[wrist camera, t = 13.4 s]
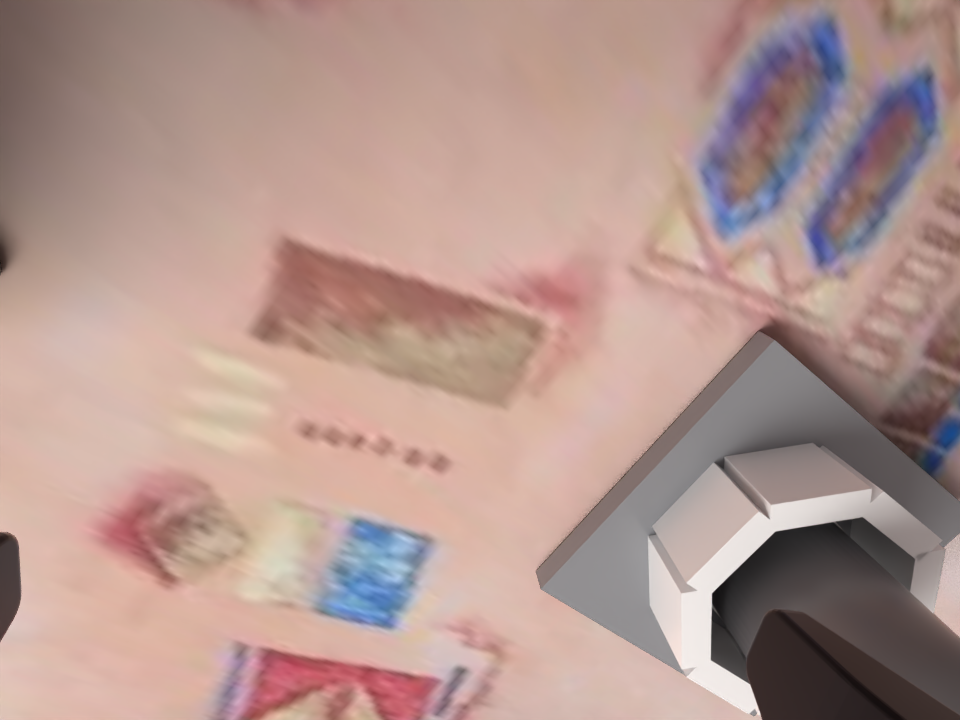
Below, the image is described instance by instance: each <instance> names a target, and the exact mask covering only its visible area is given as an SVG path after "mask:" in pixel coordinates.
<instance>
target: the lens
mask: <svg viewBox="0 0 960 720" xmlns="http://www.w3.org/2000/svg"><path fill="white" fill-rule="evenodd" d="M712 607H713V609H714V611H715V612H716V613H717V614H718V615H719V617H721V619H722V621H723V622H724V624H725V625H726V627H727V628H728V630H729V632H730V633H731V635H732V636H733V638H734V639H735V641H736V643H737V644H738V646H739V647H740V649H741V650H742V652H743V654H744V655H745V657H747V654H748V651H749V649H750V647H751V644H752V642H753V640H754V637H755V635H756V633H757V630H758V628H759V626H760V623H761V621H762V619H763V617H764V615H765V614H766V613H767V612H768V611H769V610H771V609H775V608H777V609H788V610H797V611H801V612H804V613H805V614H807V615H809V616H810V617H812V618H813V619H815V620H816V621H818V622H819V623H821V624H822V625H824V626H825V627H827V628H828V629H830V630H831V631H833V632H835V633H836V634H838V635H839V636H841V637H842V638H844V639H845V640H847V641H848V642H850V643H851V644H853V645H854V646H856V647H857V648H859V649H860V650H862V651H863V652H865V653H867V654H868V655H870V656H871V657H873V658H874V659H876V660H877V661H879V662H880V663H882V664H883V665H885V666H886V667H888V668H889V669H891V670H892V671H894V672H895V673H897V674H899V675H900V676H902V677H903V678H905V679H906V680H908V681H909V682H911V683H912V684H914V685H915V686H917V687H918V688H920V689H921V690H923V691H924V692H926V693H927V694H929V695H931V696H932V697H934V698H935V699H937V700H938V701H940V702H941V703H943V704H944V705H946V706H947V707H949V708H950V709H952V710H953V711H955V712H956V713H958V714H959V715H960V637H959V636H958V635H957V634H955V633H954V632H953V631H952V630H951V629H950V628H949V627H948V626H947V625H946V624H944V623H943V622H942V621H941V620H940V619H939V618H938V617H937V616H936V615H935V614H934V613H932V612H931V611H930V610H929V609H928V608H927V607H926V606H925V605H924V604H923V603H922V602H920V601H919V600H918V599H917V598H916V597H915V596H914V595H913V594H912V593H911V592H910V591H908V590H907V589H906V588H905V587H904V586H903V585H902V584H901V583H900V582H899V581H898V580H896V579H895V578H894V577H893V576H892V575H891V574H890V573H889V572H888V571H887V570H886V569H884V568H883V567H882V566H881V565H880V564H879V563H878V562H877V561H876V560H875V559H873V558H872V557H871V556H870V555H869V554H868V553H867V552H866V551H865V550H864V549H863V548H861V547H860V546H859V545H858V544H857V543H856V542H855V541H854V540H853V539H852V538H851V537H849V536H848V535H847V534H846V533H845V532H844V531H843V530H842V528H841V527H840V526H839V525H838V524H837V523H836V522H830V523H824V524H818V525H812V526H805V527H799V528H793V529H787V530H781V531H775V532H774V533H773V534H772V535H771V536H770V537H769V538H768V539H767V540H766V541H765V542H764V543H763V544H762V545H761V546H760V547H759V548H758V549H757V550H756V551H755V552H754V553H753V554H752V555H751V556H750V557H749V558H748V559H747V560H746V561H745V562H744V563H742V564H741V565H740V566H739V567H738V568H737V569H736V570H735V571H734V572H733V573H732V574H731V575H730V576H729V577H728V578H727V579H726V580H725V581H724V582H723V583H722V584H721V585H720V586H719V587H718V588H717V589H716V590H715V591H714V592H713V593H712Z"/></svg>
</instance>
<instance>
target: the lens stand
mask: <svg viewBox="0 0 960 720" xmlns="http://www.w3.org/2000/svg"><path fill="white" fill-rule="evenodd" d="M830 522H836V523H837V524H838V525H839V526H840V527H841V528H842V530H843V531H844V532H845V533H846V534H847V535H848V536H849V537H851V538H852V539H853V540H854V541H855V542H856V543H857V544H858V545H859V546H860V547H861V548H863V549H864V550H865V551H866V552H867V553H868V554H869V555H870V556H871V557H872V558H873V559H875V560H876V561H877V562H878V563H879V564H880V565H881V566H882V567H883V568H884V569H886V570H887V571H888V572H889V573H890V574H891V575H892V576H893V577H894V578H895V579H896V580H898V581H899V582H900V583H901V584H902V585H903V586H904V587H905V588H906V589H907V590H908V591H910V592H911V593H912V594H913V595H914V596H915V597H916V598H917V599H918V600H919V601H920V602H922V603H923V604H924V605H925V606H926V607H927V608H928V609H929V610H930V611H931V612H932V613H934V611H935V605H936V600H937V594H938V589H939V583H940V578H941V572H942V567H943V561H944V556H945V550H946V549H945V548H943V547H945V546H946V545H947V544H948V543H949V542H950V541H951V540H952V539H954V538H955V537H956V536H957V535H958V534H959V533H960V501H958V500H957V499H956V498H955V497H954V496H953V495H951V494H950V493H949V492H948V491H947V490H946V489H945V488H943V487H942V486H941V485H940V484H939V483H938V482H937V481H935V480H934V479H933V478H932V477H931V476H930V475H929V474H927V473H926V472H925V471H924V470H923V469H922V468H921V467H919V466H918V465H917V464H916V463H915V462H914V461H913V460H911V459H910V458H909V457H908V456H907V455H906V454H905V453H903V452H902V451H901V450H900V449H899V448H898V447H897V446H895V445H894V444H893V443H892V442H891V441H890V440H889V439H887V438H886V437H885V436H884V435H883V434H882V433H881V432H879V431H878V430H877V429H876V428H875V427H874V426H873V425H871V424H870V423H869V422H868V421H867V420H866V419H865V418H863V417H862V416H861V415H860V414H859V413H858V412H857V411H855V410H854V409H853V408H852V407H851V406H850V405H849V404H847V403H846V402H845V401H844V400H843V399H842V398H841V397H839V396H838V395H837V394H836V393H835V392H834V391H833V390H831V389H830V388H829V387H828V386H827V385H826V384H825V383H823V382H822V381H821V380H820V379H819V378H818V377H817V376H815V375H814V374H813V373H812V372H811V371H810V370H809V369H807V368H806V367H805V366H804V365H803V364H802V363H801V362H799V361H798V360H797V359H796V358H795V357H794V356H793V355H791V354H790V353H789V352H788V351H787V350H786V349H785V348H783V347H782V346H781V345H780V344H779V343H778V342H777V341H775V340H774V339H772V338H770V337H769V336H767V335H765V334H763V333H762V332H760V331H758V332H757V333H756V334H755V335H754V336H753V338H752V339H751V340H750V341H749V342H748V343H747V344H746V345H745V346H744V347H743V348H742V349H741V350H740V352H739V353H738V354H737V355H736V356H735V357H734V358H733V359H732V360H731V361H730V362H729V363H728V364H727V366H726V367H725V368H724V369H723V370H722V371H721V372H720V373H719V374H718V375H717V376H716V377H715V378H714V380H713V381H712V382H711V383H710V384H709V385H708V386H707V387H706V388H705V389H704V390H703V391H702V393H701V394H700V395H699V396H698V397H697V398H696V399H695V400H694V401H693V402H692V403H691V404H690V405H689V407H688V408H687V409H686V410H685V411H684V412H683V413H682V414H681V415H680V416H679V417H678V418H677V419H676V421H675V422H674V423H673V424H672V425H671V426H670V427H669V428H668V429H667V430H666V431H665V432H664V434H663V435H662V436H661V437H660V438H659V439H658V440H657V441H656V442H655V443H654V444H653V445H652V446H651V448H650V449H649V450H648V451H647V452H646V453H645V454H644V455H643V456H642V457H641V458H640V459H639V460H638V462H637V463H636V464H635V465H634V466H633V467H632V468H631V469H630V470H629V471H628V472H627V473H626V475H625V476H624V477H623V478H622V479H621V480H620V481H619V482H618V483H617V484H616V485H615V486H614V487H613V489H612V490H611V491H610V492H609V493H608V494H607V495H606V496H605V497H604V498H603V499H602V500H601V501H600V503H599V504H598V505H597V506H596V507H595V508H594V509H593V510H592V511H591V512H590V513H589V514H588V516H587V517H586V518H585V519H584V520H583V521H582V522H581V523H580V524H579V525H578V526H577V527H576V528H575V530H574V531H573V532H572V533H571V534H570V535H569V536H568V537H567V538H566V539H565V540H564V541H563V542H562V544H561V545H560V546H559V547H558V548H557V549H556V550H555V551H554V552H553V553H552V554H551V555H550V556H549V558H548V559H547V560H546V561H545V562H544V563H543V564H542V565H541V566H540V567H539V568H538V569H537V571H536V574H537V577H538V581H539V585H540V588H541V590H543V591H545V592H546V593H548V594H550V595H551V596H553V597H555V598H556V599H558V600H560V601H561V602H563V603H565V604H566V605H568V606H570V607H571V608H573V609H575V610H576V611H578V612H580V613H581V614H583V615H585V616H586V617H588V618H590V619H592V620H593V621H595V622H597V623H598V624H600V625H602V626H603V627H605V628H607V629H608V630H610V631H612V632H613V633H615V634H617V635H618V636H620V637H622V638H623V639H625V640H627V641H628V642H630V643H632V644H633V645H635V646H637V647H639V648H640V649H642V650H644V651H645V652H647V653H649V654H650V655H652V656H654V657H655V658H657V659H659V660H660V661H662V662H664V663H665V664H667V665H669V666H670V667H672V668H674V669H675V670H677V671H679V672H680V673H682V674H684V675H685V676H686V677H687V678H688V679H690V680H692V681H693V682H695V683H697V684H698V685H700V686H702V687H704V688H705V689H707V690H709V691H710V692H712V693H714V694H715V695H717V696H719V697H720V698H722V699H724V700H725V701H727V702H729V703H730V704H732V705H734V706H735V707H737V708H739V709H740V710H742V711H744V712H746V713H747V714H751V715H753V716H755V715H756V714H757V713H758V715H759V716H760V715H761V714H760V711H759V709H758V706H757V703H756V700H755V697H754V694H753V691H752V688H751V686H750V683H749V680H748V676H747V672H746V657H745V655H744V654H743V652H742V650H741V649H740V647H739V646H738V644H737V643H736V641H735V639H734V638H733V636H732V635H731V633H730V632H729V630H728V628H727V627H726V625H725V624H724V622H723V621H722V619H721V617H719V615H718V614H717V613H716V612H715V611H714V609H713V607H712V593H713V592H714V591H715V590H716V589H717V588H718V587H719V586H720V585H721V584H722V583H723V582H724V581H725V580H726V579H727V578H728V577H729V576H730V575H731V574H732V573H733V572H734V571H735V570H736V569H737V568H738V567H739V566H740V565H741V564H742V563H744V562H745V561H746V560H747V559H748V558H749V557H750V556H751V555H752V554H753V553H754V552H755V551H756V550H757V549H758V548H759V547H760V546H761V545H762V544H763V543H764V542H765V541H766V540H767V539H768V538H769V537H770V536H771V535H772V534H773V533H774V532H775V531H781V530H787V529H793V528H799V527H805V526H812V525H818V524H824V523H830Z"/></svg>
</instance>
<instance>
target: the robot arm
mask: <svg viewBox="0 0 960 720" xmlns="http://www.w3.org/2000/svg"><path fill="white" fill-rule="evenodd" d="M1 271H2V267H1V262H0V274H1ZM20 600H21V577H20V559H19V545H18V541H17V539H16V537H15V536H14V535H12V534H10V533H8V532H0V642H1V640H2V638H3V636H4V635H5V633H6V631H7V630H8V628H9V626H10V624H11V623H12V621H13V619H14V617H15V615H16V613H17V611H18V608H19V605H20ZM746 672H747V676H748V680H749V683H750V686H751V688H752V691H753V694H754V697H755V700H756V703H757V706H758V709H759V711H760V714H761V717H762V720H960V715H959V714H958V713H956V712H955V711H953V710H952V709H950V708H949V707H947V706H946V705H944V704H943V703H941V702H940V701H938V700H937V699H935V698H934V697H932V696H931V695H929V694H927V693H926V692H924V691H923V690H921V689H920V688H918V687H917V686H915V685H914V684H912V683H911V682H909V681H908V680H906V679H905V678H903V677H902V676H900V675H899V674H897V673H895V672H894V671H892V670H891V669H889V668H888V667H886V666H885V665H883V664H882V663H880V662H879V661H877V660H876V659H874V658H873V657H871V656H870V655H868V654H867V653H865V652H863V651H862V650H860V649H859V648H857V647H856V646H854V645H853V644H851V643H850V642H848V641H847V640H845V639H844V638H842V637H841V636H839V635H838V634H836V633H835V632H833V631H831V630H830V629H828V628H827V627H825V626H824V625H822V624H821V623H819V622H818V621H816V620H815V619H813V618H812V617H810V616H809V615H807V614H805V613H804V612H801V611H797V610H788V609H777V608H775V609H771V610H769V611H768V612H767V613H766V614H765V615H764V617H763V619H762V621H761V623H760V626H759V628H758V630H757V633H756V635H755V637H754V640H753V642H752V644H751V647H750V649H749V651H748V654H747V657H746Z"/></svg>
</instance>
